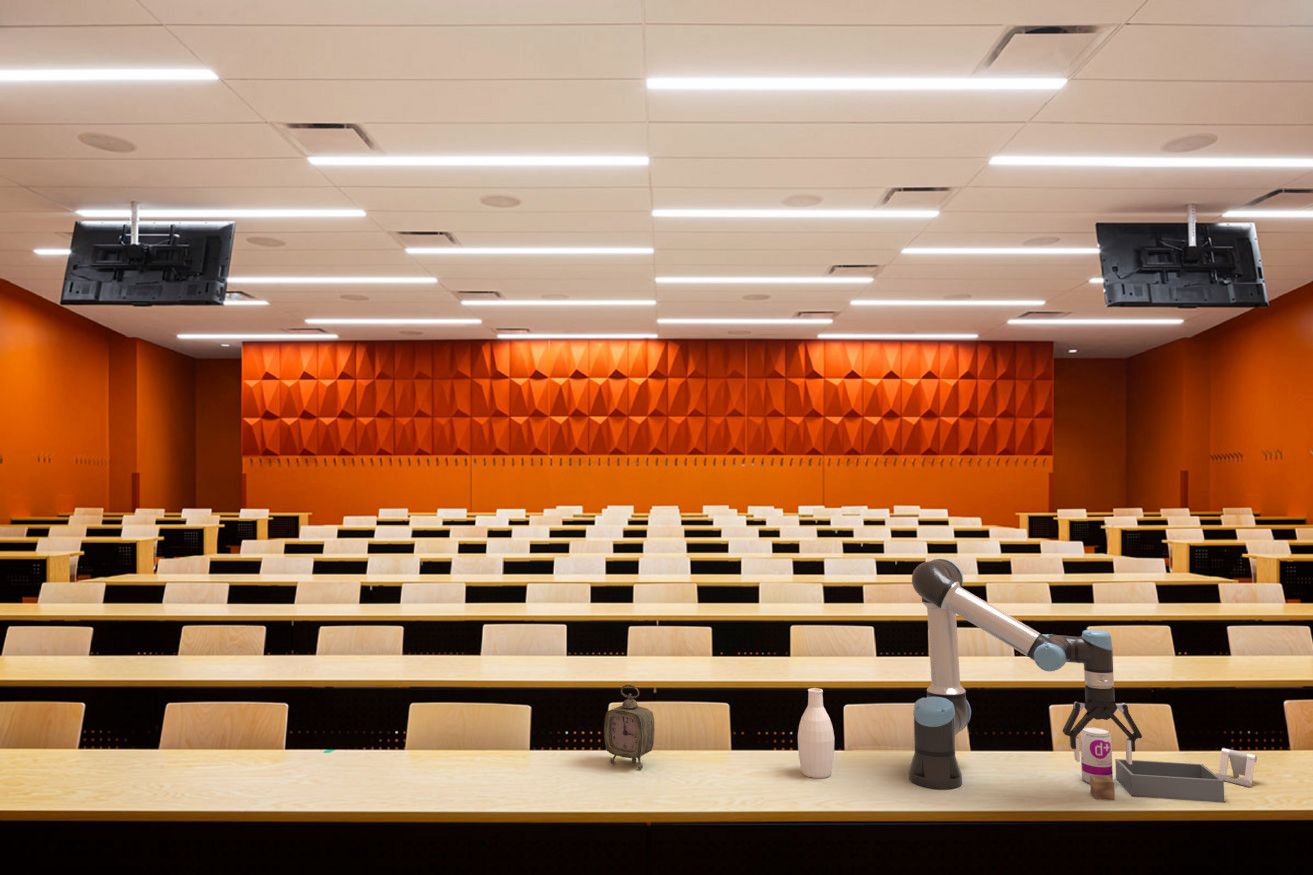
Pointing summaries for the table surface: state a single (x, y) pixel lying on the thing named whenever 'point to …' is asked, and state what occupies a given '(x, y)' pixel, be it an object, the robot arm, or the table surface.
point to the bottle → (816, 738)
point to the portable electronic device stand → (1237, 766)
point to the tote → (1169, 780)
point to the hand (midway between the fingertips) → (1103, 761)
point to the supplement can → (1096, 753)
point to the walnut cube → (1102, 787)
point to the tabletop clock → (629, 730)
